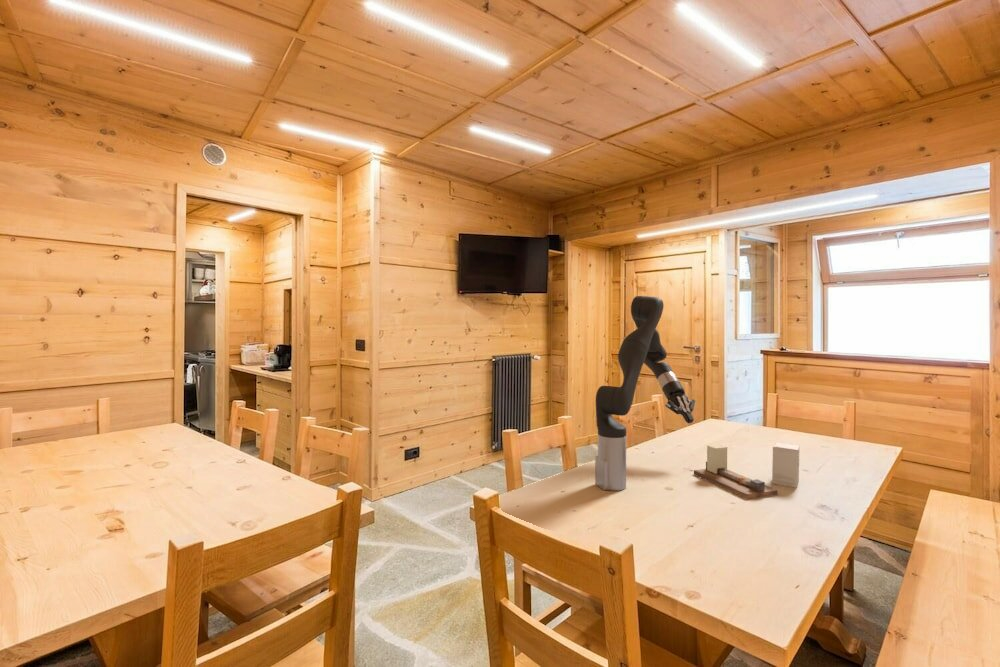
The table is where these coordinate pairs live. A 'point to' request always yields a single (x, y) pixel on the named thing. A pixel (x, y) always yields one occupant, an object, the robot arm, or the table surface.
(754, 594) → the table surface
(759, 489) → the rail
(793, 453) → the supplement box
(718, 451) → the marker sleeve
